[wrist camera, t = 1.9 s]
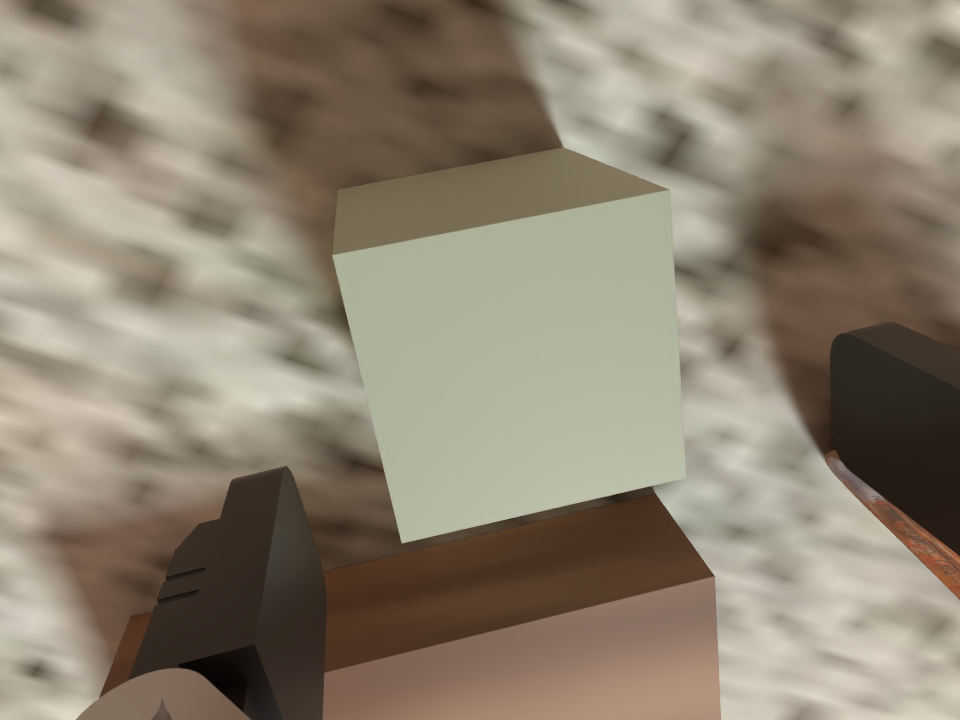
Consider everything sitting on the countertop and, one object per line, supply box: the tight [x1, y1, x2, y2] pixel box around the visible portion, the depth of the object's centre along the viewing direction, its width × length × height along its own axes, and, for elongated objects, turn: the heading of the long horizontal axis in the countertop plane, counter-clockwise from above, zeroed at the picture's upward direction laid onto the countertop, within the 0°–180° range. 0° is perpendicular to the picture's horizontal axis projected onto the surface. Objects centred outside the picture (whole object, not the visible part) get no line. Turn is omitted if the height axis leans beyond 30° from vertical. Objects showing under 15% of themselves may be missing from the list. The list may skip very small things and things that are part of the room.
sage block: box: [332, 147, 686, 543], centre depth 15 cm, size 5×5×6 cm
